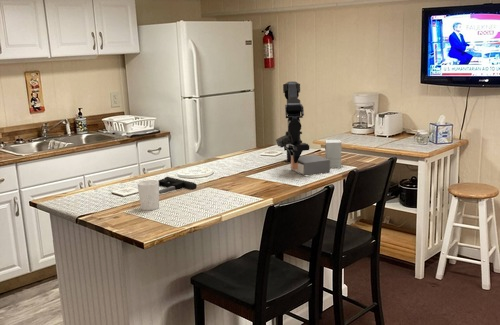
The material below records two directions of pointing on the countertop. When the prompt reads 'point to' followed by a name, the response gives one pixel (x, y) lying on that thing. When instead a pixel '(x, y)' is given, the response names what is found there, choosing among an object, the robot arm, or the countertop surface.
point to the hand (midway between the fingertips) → (294, 162)
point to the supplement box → (333, 153)
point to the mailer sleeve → (314, 164)
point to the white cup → (149, 194)
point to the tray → (297, 166)
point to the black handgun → (174, 184)
